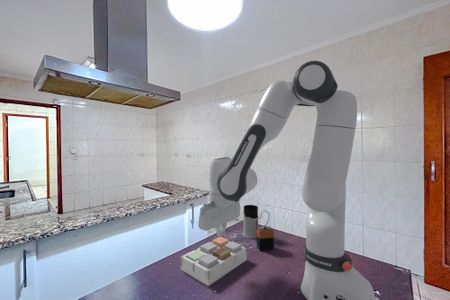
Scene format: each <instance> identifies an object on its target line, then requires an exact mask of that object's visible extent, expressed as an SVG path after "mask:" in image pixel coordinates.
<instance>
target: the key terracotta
mask: <svg viewBox="0 0 450 300" xmlns="http://www.w3.org/2000/svg"><path fill="white" fill-rule="evenodd" d="M228 241H229V239H227V238H224V237H222V236H217V237H216V238H214V239H212V240H211V242H212V243H213V244H215V245H217V247H219V248H220V247H224V245H226V244H228Z"/></svg>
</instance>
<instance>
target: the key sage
mask: <svg viewBox="0 0 450 300" xmlns="http://www.w3.org/2000/svg"><path fill="white" fill-rule="evenodd" d="M203 256H205V254H203V253H200V252H198V251H194V252H192V253H190V254H188V255H186V257H187V258H189V259H190V260H192V261H194V262H195V261H197V260H198V259H199V258H201V257H203Z"/></svg>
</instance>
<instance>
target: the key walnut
mask: <svg viewBox="0 0 450 300" xmlns="http://www.w3.org/2000/svg"><path fill="white" fill-rule="evenodd" d="M212 255H213V256H215V257H217V258H218V259H219V260H221V261H222V260H224V259H226V258H227V257H229V256H230V251H229V250H227V249H225V248H222V247H220V248H218V249H216V250H214V251H212Z"/></svg>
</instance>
